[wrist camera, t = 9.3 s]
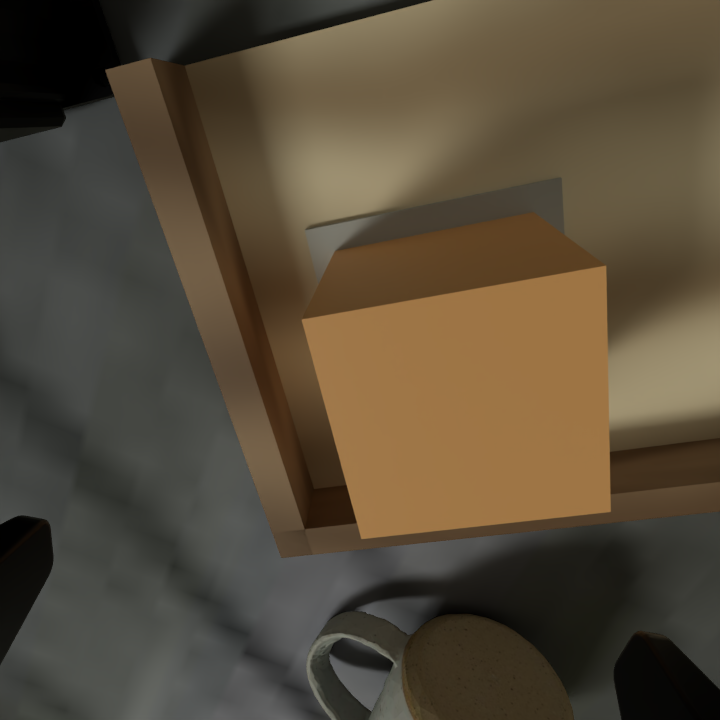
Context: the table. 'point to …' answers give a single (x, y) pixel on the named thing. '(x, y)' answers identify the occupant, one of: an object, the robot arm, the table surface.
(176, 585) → the table surface
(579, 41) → the arena
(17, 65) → the robot arm
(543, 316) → the cube
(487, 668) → the ceramic mug
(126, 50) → the table surface
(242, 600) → the table surface
